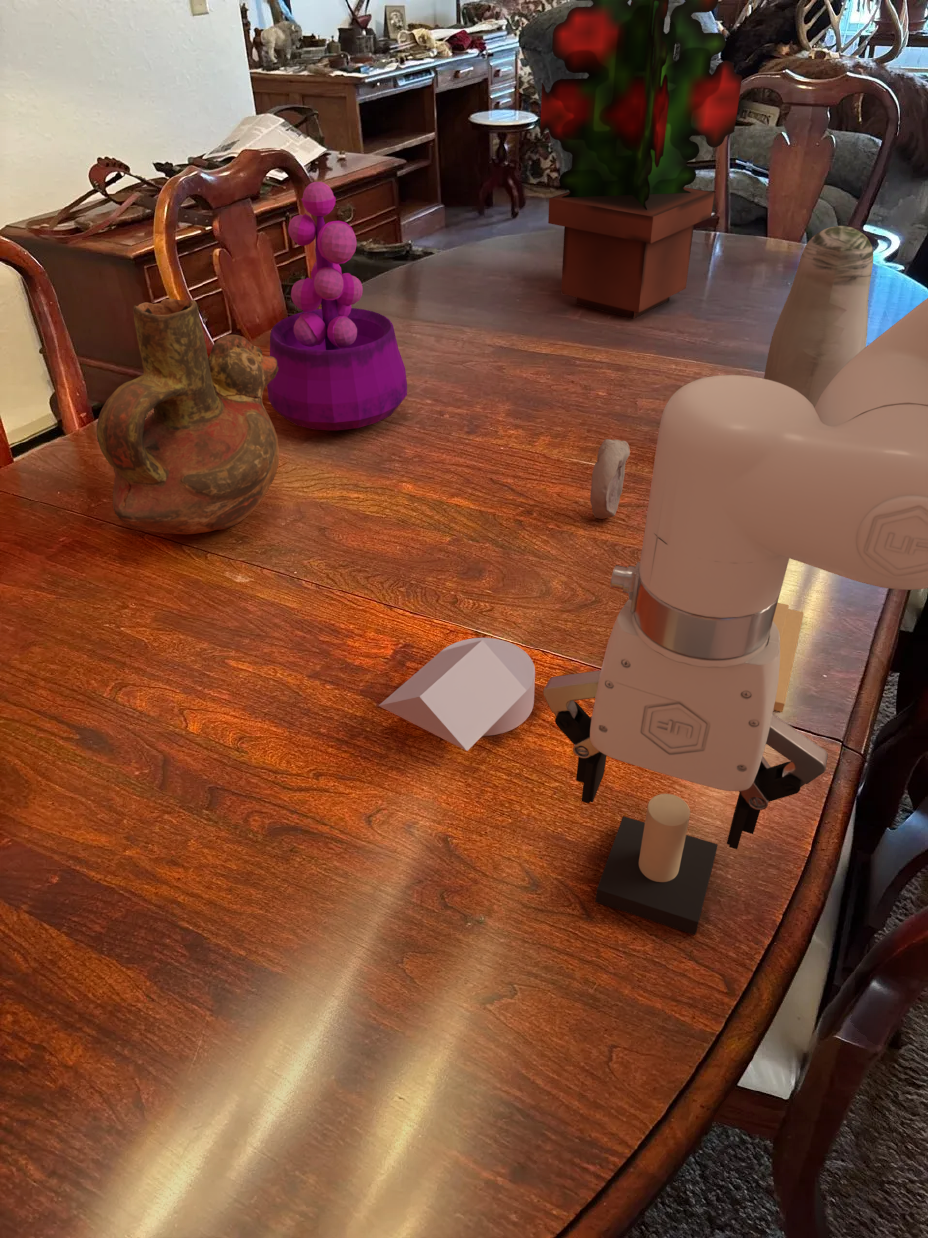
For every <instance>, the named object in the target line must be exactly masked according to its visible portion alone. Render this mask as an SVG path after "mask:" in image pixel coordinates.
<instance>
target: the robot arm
mask: <svg viewBox="0 0 928 1238" xmlns="http://www.w3.org/2000/svg"><path fill="white" fill-rule="evenodd" d="M660 417H661V418H660V422H659V426H658V432H657V433H658V434H657V439H656V440H657V441H656V448H655V454H654V455H655V456H654V460H653V461H654V463H653V469H652V476H651V484H650V490H649V496H648V504H647V510H646V519H645V524H644V532H643V539H642V545H641V553H640V561H637V563H636V564H635V566H633V565H628V566H623V565H619V564H615V565H614V567H613V570H612V574H611V577H610V585H609V587H610V588H611V589H617V590H620V591H622V593H623V594H627V595H628V599H627V600H626V601H625V603H624V605H623V607H622V608H621V609H620V611H619V613H618V614H617V616H616V619H615V621H614V624H613V626H612V628H611V629H612V630H611V632H610V635H609V638H608V641H607V645H606V648H605V651H604V656H603V660H602V665H601V669H600V670H593V671H585V672H577V673H571V674H570V673H569V674H563V675H557V676H556V675H555V676H551V677H549V679H548V681H547V683H546V685H545V687H544V688H543V691H542V694H543V697H544V699H545V701H546V703H547V705H548V707H549V710H550V711H551V713H553V715H554V716H555V719H554V723H555V725H556V726H557V727H558V728H559V730H560V731H561V732H562V733H563V735H565V736H566V738H567V739H568V740H569V741H570V742H571V743H572V745H573V748H572V751H573V754H574V755H575V756H576V757H578V758H577V759H578V760H577V767H576V769H577V770H576V777H575V780H576V782H580V783H583V784H582V793H581V802H583V803H585V804H590V803H593V802H594V800H595V798H596V795H597V793H598V790H599V787H600V785H601V783H602V780H603V778H604V776H605V775H604V774H605V771H606V762H607V757H608V758H611V759H613V760H617V761H619V762H623V763H626V764H630V765H632V766H635V767H639V768H642V769H646V770H649V771H653V772H655V773H659V774H663V775H666V776H669V777H673V778H676V779H679V780H683V781H687V782H690V783H694V784H698V785H701V786H704V787H708V788H711V789H712V788H713V789H715V790H716V789H717V790H719V791H726V792H739V793H738V796H737V801H736V804H735V808H734V811H733V815H732V819H731V824H730V828H729V831H728V836H727V839H726V840H727V841H726V845H728V847H729V848H731V849H734V850H738V848H739V845H740V841H741V837H742V835H743V832H744V833H747V834H751V835H754V833H755V829H756V827H757V823H758V819H759V816H760V813H761V811H763V810H765V809H767V808H768V806H769V803H770V802H773V801H777V800H781V799H783V798H786V797H790V796H793V795H796V794H799V792H800V791H801V788H802V787H804V786H805V785H809V784H810V783H811V782H813V781H814V780H816V779H817V778H819V777H820V776H821V775H822V774H824V773H825V772H826V770H827V765H828V757H829V753H828V751H827V750H826V749H825V748H823V747H821V746H820V745H819V744H817V743H815V742H814V741H812V739H810V738H808V737H807V736H806V735H805V734H803V733H801V732H800V731H798V730H797V729H796V728H794V726H791V725H790V724H789V723H788V722H786V721H784V720H783V719H782V718H780V717H779V716H777V715H776V714H775V713H774V710H773V709H774V704H775V700H776V694H777V687H778V680H779V666H780V634H779V630H778V628H777V626H776V624H775V623H774V622H773V618H774V614H775V610H776V607H777V603H779V598H780V595H781V591H782V589H783V588H782V587H783V585H784V580H785V576H786V573H787V570H788V569H787V568H788V565H789V562H790V560H793V561H796V562H799V563H802V564H805V565H808V566H811V567H814V568H817V569H820V570H822V571H825V572H827V573H831V574H833V575H837V576H839V577H842V578H845V579H849V580H852V581H854V582H858V583H861V584H865V585H869V586H874V587H878V588H883V589H890V590H891V589H892V590H900V591H901V590H903V591H914V590H925V589H928V297H927V298H925V299H924V300H923V301H922V302H921V303H919V304H917V306H915V307H914V308H913V309H911V310H910V311H909V312H908V313H907V314H905V315H904V316H903V317H901V319H898V320H897V322H895V323H894V324H893V325H891V326H890V327H889V328H887V329H886V330H885V331H884V332H883V333H881V334H880V335H879V336H878V337H876V338H875V339H874V340H873V341H872V342H870V343H869V344H867V345H866V347H865V348H864V349H863V350H862V351H861V352H860V353H858V354H857V355H856V356H855V357H854V358H853V359H852V360H850V361H849V362H848V363H847V364H846V365H845V366H844V367H843V368H842V369H841V370H840V371H839V372H838V373H837V375H836V376H835V377H834V378H833V379H832V381H831V382H830V383H829V385H828V386H827V387H826V388H825V390H824V391H823V393H822V394H821V396H820V398H819V400H818V402H817V404H816V406H815V408H814V406H813V405H812V404H811V403H810V402H809V401H808V399H806V398H805V397H804V396H803V395H802V394H800V393H799V392H798V391H796V390H794V389H792V388H790V387H788V386H786V385H783V384H781V383H778V382H775V381H771V380H767V379H764V377H763V378H762V377H757V376H750V375H741V374H740V375H739V374H720V375H711V376H706V377H701V378H697V379H695V380H693V381H691V382H689V383H686V384H685V385H683V386H681V387H680V388H679V389H677V390H676V391H675V392H674V393H673V394H672V395H671V396H670V398H669V399H668V401H667V402H666V404H665V406H664V409H663V411H662V413H661V416H660ZM591 699H594V703H593V709H592V714H591V716H590V715H588V714H587V712H586V711H585V710H584V708H583V707H582V706H581V705H580V704H579V703H578V702H577V701H583V700H591ZM766 745H767V746H768V747H770V748H771V749H773V750H774V751H775V752H777V753H778V754H780V755H781V756H783V757H784V758H786V759H787V760H788V761H785V762H782V763H780V764H777V765H774V766H771V765H770V763H769V762H768V761H767V760H766V758H765V756H764V753H765V749H766Z"/></svg>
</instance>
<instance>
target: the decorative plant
mask: <svg viewBox="0 0 928 1238" xmlns="http://www.w3.org/2000/svg"><path fill="white" fill-rule="evenodd" d="M336 200H337V197H336V196H335V195H334V192H333V190H332V188H331V187H330V186H329V185H328V184H326V183H325V182H323V181H313V182H311V183H309V184H308V185H307V186H306V187H305V188H304V190H303V195H302V198H301V202H302V205H303V208H304V209H305V211H306V212H307V213H308V214H307V213H304V214H298V215H294V216H293V217H292V218H291V220H289V223H288V227H287V231H288V232H287V233H288V235H289V238H290V239H291V240H292V241H293V242H294V243H295V244H297V246H299V247H300V246H301V247H305V246H308V245H311V243H313V242H314V241H315V246H314V247H315V248H314V253H315V262H314V263H313V266H312V268H311V272H310V277H311V278H310V277H306V278H304V279H303V278H301V279H299V280H297V281H295V282H294V284H293V285H292V287H291V290H290V298H291V300H292V303H293V304H294V306H295V307H297V309H299V310H301V311H302V312H301V311H300V312H298V313H295V314H292V315H289V316H287V317H284V318H283V319H281V320H280V321H278V322H276V324H274V325H273V326H272V328H271V330H270V333H269V334H270V335H269V356H272V357H274V358H276V360H277V367H278V368H279V369H278V372H277V374H276V376H275V378H274V379H272V380H271V381H270V383H269V384H268V385H267V386H266V388H267V397H268V398H267V400H268V402H269V403H270V405H271V406H272V408H273V410H275V411H276V412H277V413H278V414H279V415H280V416H281V417H283V418H284V419H285V420H287V421H289V422H291V423H293V424H294V425H296V426H298V427H302V428H306V429H312V430H314V431H315V430H317V431H344V430H353V429H360V428H363V427H367V426H370V425H374V424H378V423H379V422H380V421H383V420H384V419H387V418H388V417H391V416H392V414H393V413H394V412H395V411H396V410H397V408H399V406H400V405H401V404H402V402H403V401H404V400H405V398H406V397H407V396H408V380H407V373H406V372H407V371H406V367H405V363H404V361H403V357H402V355H401V352H400V350H399V346H398V341H397V337H396V331H395V327H394V324H393V322H392V321H391V320H390V318H388V317H386V315H383V314H382V313H380V312H376V311H373V310H369V309H365V308H364V309H363V308H356V307H352V306H353V305H355V304H357V303H358V302H359V301H360V300H361V298H362V297H363V293H364V292H363V291H364V289H363V284H362V282H361V280H360V279H359V278H357V276H355V275H352V274H351V273H350V272H345V273H343V272H342V267H341V266H340V265H342V264H345V263H347V262H348V261H350V260H351V259H352V258H353V256H354V254H355V253H356V249H357V245H358V244H357V243H358V242H357V237H356V233H355V231H354V229H353V227H352V226H351V225H349V224H348V223H347V222H346V221H341V220H333V221H328V222H327V223H326V222H325V219H324V217H325V216H328V215H329V214H330V213H331V212H332V211H333V210H334V207H335V206H336V202H337V201H336ZM309 214H310V215H312V216H314V217H316V222H315V220H314V219H313V218H312V217H311V216H310V215H309ZM319 307H321V308H319Z"/></svg>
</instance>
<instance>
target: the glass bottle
mask: <svg viewBox="0 0 928 1238" xmlns="http://www.w3.org/2000/svg"><path fill="white" fill-rule="evenodd" d="M873 266H874V250H873V245H872V243H871V241H870V239H869V238H868V237H867V236H866V235H865V233H863V232H861V231H860V230H858V229H857V228H854V227H852V226H846V225H834V226H830V227H828V228H824V229H822V230H821V231H819V232H817V233H815V235H813V236H812V237H811V238H810V239H809V240H808V242H807V243H806V244H805V247H804V248H803V250H802V253H801V255H800V258H799V261H798V264H797V268H796V272H795V275H794V279H793V281H792V285H791V288H790V291H789V293H788V295H787V298H786V300H785V302H784V305H783V307H782V309H781V312H780V314H779V316H778V318H777V322H776V324H775V327H774V330H773V332H772V336H771V340H770V345H769V348H768V353H767V359H766V364H765V370H764V376H763V379H767V380H771V381H775V382H778V383H781V384H783V385H786V386H788V387H790V388H792V389H794V390H796V391H798V392H799V393H800V394H802V395H803V396H804V397H805V398H806V399H808V401H809V402H810V403H811V404H812V405H813V406H814V408H815V406H816V404H817V402H818V400H819V398H820V396H821V394H822V393H823V391H824V390H825V388H826V387H827V386H828V385H829V383H830V382H831V381H832V379H833V378H834V377H835V376H836V375H837V373H838V372H839V371H840V370H841V369H842V368H843V367H844V366H845V365H846V364H847V363H848V362H849V361H850V360H852V359H853V358H854V357H855V356H856V355H857V354H858V353H860V352H861V351H862V350H863V349H864V348H865V347H867V340H868V325H869V323H868V320H869V296H870V288H871V287H870V286H871V281H872V273H873Z"/></svg>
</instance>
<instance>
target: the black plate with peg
mask: <svg viewBox="0 0 928 1238" xmlns="http://www.w3.org/2000/svg"><path fill="white" fill-rule="evenodd" d="M690 816H691V809H690V806H689V804H688V803H687V801H685V800H684V799H683V798H682V797H680V796H678V795H675V794H672V793H660V794H657V795H654V796H653V797H651V798H650V800H649V801H648V803H647V808H646V813H645V820H644V821H641V820H638V819H635V818H631V817H628V816H625V815H623V816H622V818H621V821H620V824H619V826H618V829H617V832H616V835H615V837H614V840H613V843H612V845H611V848H610V851H609V854H608V857H607V859H606V862H605V865H604V867H603V871H602V873H601V877H600V879H599V882H598V883H597V884H598V885H597V887H596V893H595V900H594V901H595V903H597V904H599V905H604V906H606V907H609V908H611V909H616V910H618V911H620V912H621V911H622V912H625V913H627V914H630V915H633V916H636V917H640V918H642V919H645V920H649V921H652V922H655V923H658V924H661V925H662V926H663V925H664V926H667V927H669V928H673V929H676V930H678V931H681V932H684V933H687V934H691V935H694V936H696V935H697V931H698V927H699V924H700V920H701V916H702V915H701V914H702V912H703V911H702V910H703V907H704V902H705V898H706V895H707V891H708V887H709V883H710V879H711V874H712V871H713V870H712V869H713V868H714V863H715V859H716V854H717V850H718V847H719V843H715V842H711V841H708V840H705V839H701V838H698V837H695V836H691V835H688V834H687V832H688V827H689V822H690V819H691V818H690Z"/></svg>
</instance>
